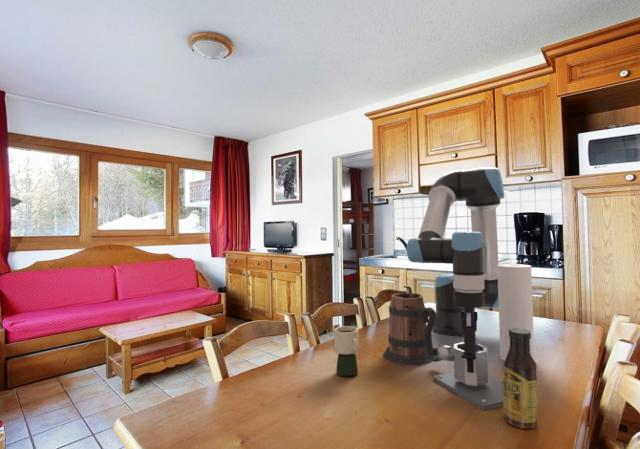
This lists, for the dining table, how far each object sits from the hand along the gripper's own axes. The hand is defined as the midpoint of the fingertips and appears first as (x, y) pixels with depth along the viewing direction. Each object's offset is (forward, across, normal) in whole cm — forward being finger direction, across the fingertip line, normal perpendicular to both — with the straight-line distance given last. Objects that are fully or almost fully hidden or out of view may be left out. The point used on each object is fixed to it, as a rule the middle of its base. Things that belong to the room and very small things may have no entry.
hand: (471, 377), depth 91 cm
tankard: (+3, -16, -17) cm, 23 cm away
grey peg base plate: (+3, 0, +1) cm, 3 cm away
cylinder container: (+3, -27, +13) cm, 30 cm away
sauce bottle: (+3, +14, +10) cm, 18 cm away
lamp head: (0, 0, -2) cm, 2 cm away
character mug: (+3, +4, -33) cm, 34 cm away
